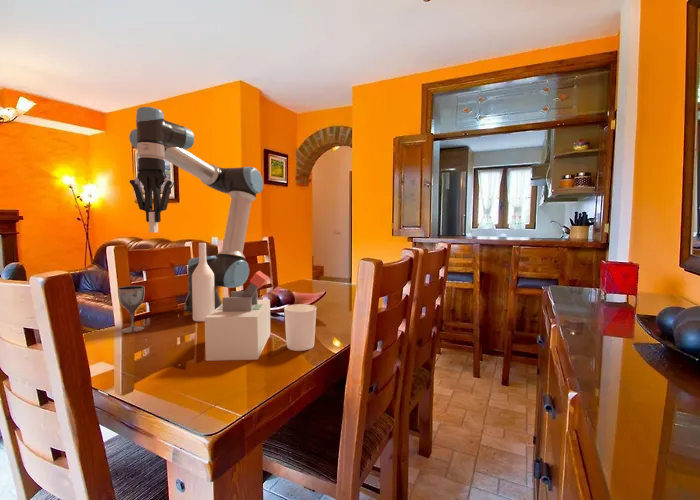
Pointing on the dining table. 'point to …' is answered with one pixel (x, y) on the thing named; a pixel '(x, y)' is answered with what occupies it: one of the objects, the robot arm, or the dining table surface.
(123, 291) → the wine glass
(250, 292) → the toggle
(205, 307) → the bottle
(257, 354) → the box
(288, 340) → the candle holder
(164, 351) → the dining table surface
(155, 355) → the dining table surface
